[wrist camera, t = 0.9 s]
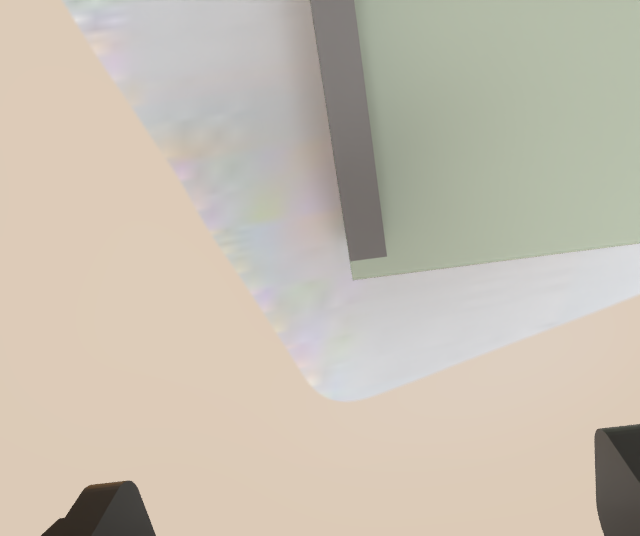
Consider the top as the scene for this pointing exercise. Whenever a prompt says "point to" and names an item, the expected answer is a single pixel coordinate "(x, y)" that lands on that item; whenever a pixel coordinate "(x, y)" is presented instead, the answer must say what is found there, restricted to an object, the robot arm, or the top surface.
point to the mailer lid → (481, 128)
